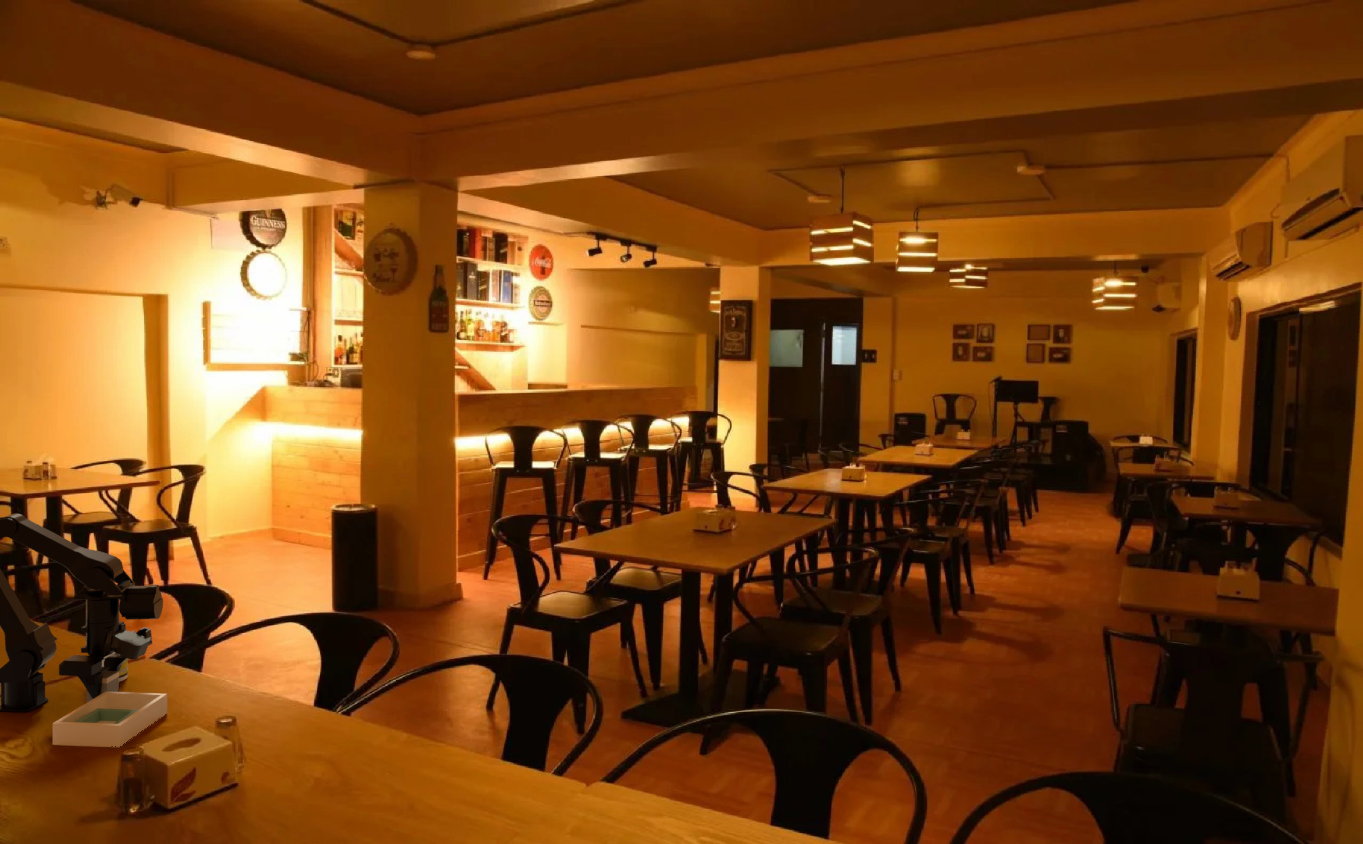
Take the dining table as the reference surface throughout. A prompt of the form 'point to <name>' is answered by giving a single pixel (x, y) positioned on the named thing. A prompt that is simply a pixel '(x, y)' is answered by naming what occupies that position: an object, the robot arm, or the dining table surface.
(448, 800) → the dining table surface
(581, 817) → the dining table surface
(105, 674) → the square block
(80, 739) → the walled box
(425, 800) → the dining table surface
